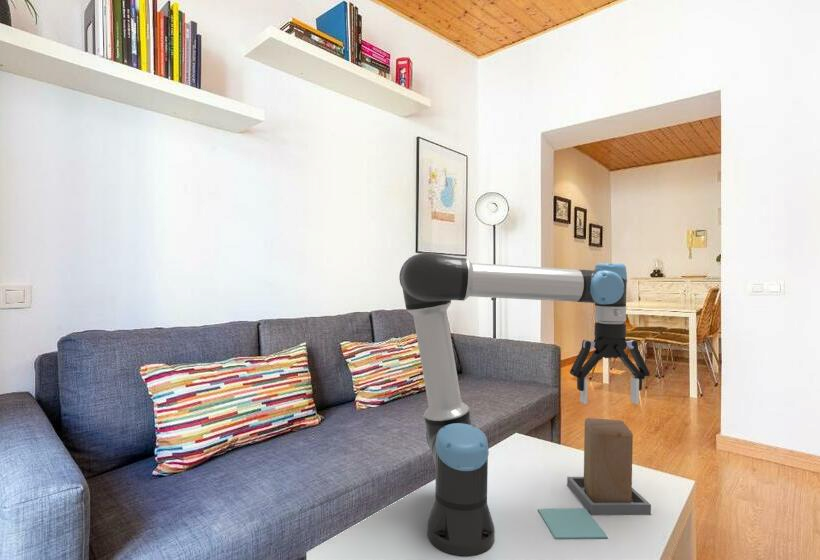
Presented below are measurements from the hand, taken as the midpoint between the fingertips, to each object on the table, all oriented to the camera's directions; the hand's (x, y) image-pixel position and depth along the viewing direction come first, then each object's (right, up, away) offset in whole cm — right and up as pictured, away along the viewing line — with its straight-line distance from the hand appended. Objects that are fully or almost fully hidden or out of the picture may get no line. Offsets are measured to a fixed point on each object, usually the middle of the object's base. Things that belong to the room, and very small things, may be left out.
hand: (609, 402), depth 116 cm
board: (-14, -26, -11) cm, 31 cm away
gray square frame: (0, -26, 0) cm, 26 cm away
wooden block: (0, -26, 0) cm, 26 cm away
